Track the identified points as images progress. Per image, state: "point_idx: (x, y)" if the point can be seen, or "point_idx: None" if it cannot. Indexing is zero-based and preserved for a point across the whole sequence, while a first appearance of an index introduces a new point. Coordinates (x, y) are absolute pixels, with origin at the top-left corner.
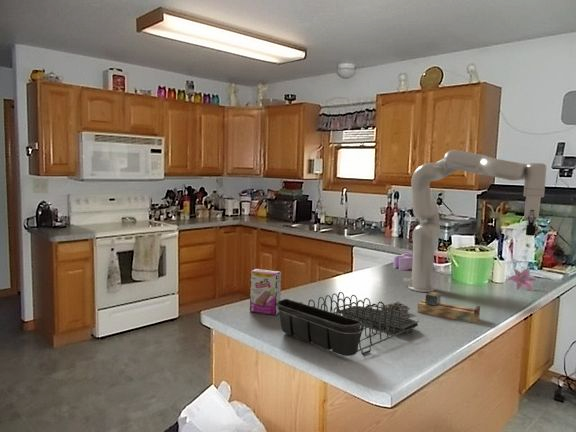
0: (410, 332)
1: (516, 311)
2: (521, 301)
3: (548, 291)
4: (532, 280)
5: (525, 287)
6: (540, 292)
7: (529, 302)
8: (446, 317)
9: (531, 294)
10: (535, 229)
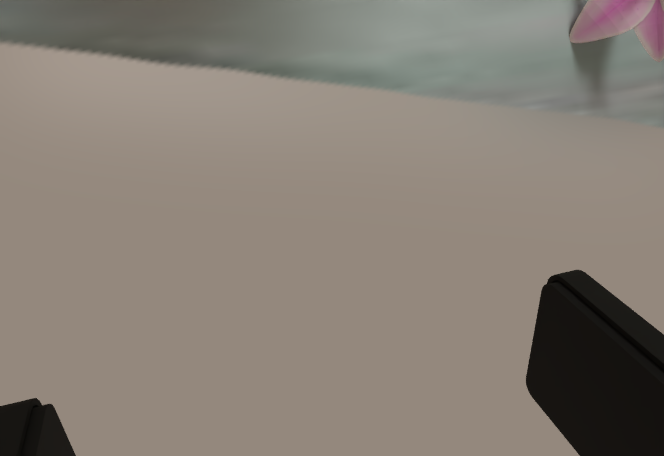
0: None
1: (10, 34)
2: (294, 21)
3: (597, 112)
4: (653, 39)
5: (588, 1)
6: (561, 82)
7: (302, 67)
8: None
9: (495, 47)
10: (576, 440)
